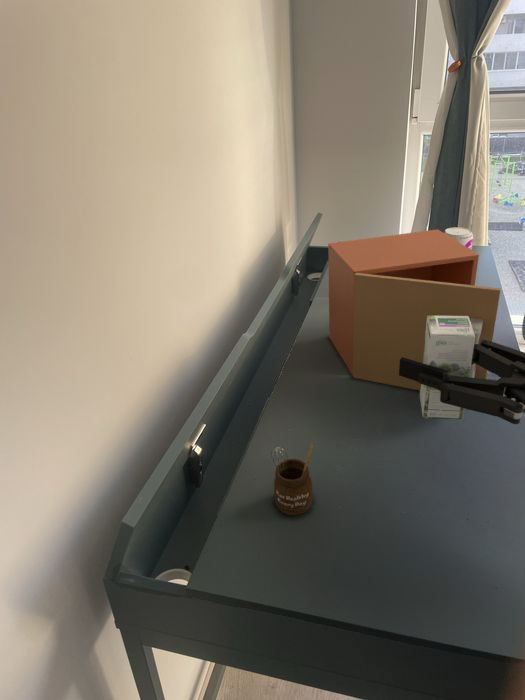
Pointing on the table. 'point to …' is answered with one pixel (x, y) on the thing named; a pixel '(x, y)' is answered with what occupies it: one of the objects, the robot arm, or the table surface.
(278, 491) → the utensil holder
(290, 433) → the table surface
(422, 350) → the cabinet door
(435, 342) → the syrup box
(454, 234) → the supplement can
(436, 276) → the cabinet
